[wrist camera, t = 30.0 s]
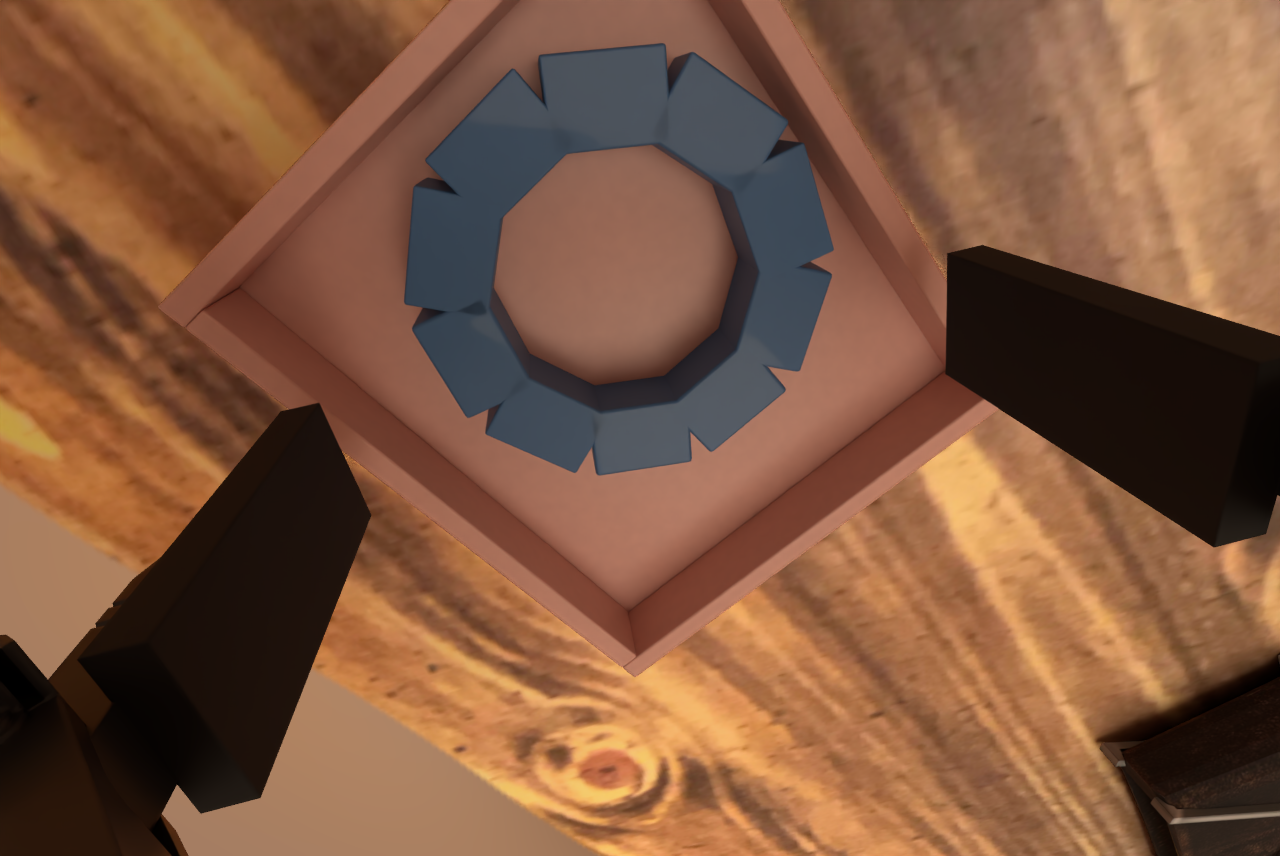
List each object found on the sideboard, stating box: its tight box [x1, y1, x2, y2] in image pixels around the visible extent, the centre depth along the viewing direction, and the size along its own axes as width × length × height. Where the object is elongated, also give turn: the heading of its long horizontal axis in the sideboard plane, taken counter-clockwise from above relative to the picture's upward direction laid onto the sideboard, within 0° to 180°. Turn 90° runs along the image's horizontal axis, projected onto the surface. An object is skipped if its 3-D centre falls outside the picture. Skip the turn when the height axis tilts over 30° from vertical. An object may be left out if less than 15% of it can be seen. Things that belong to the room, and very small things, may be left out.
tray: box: [158, 0, 999, 677], centre depth 17 cm, size 15×13×2 cm
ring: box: [404, 43, 834, 476], centre depth 16 cm, size 9×10×2 cm
